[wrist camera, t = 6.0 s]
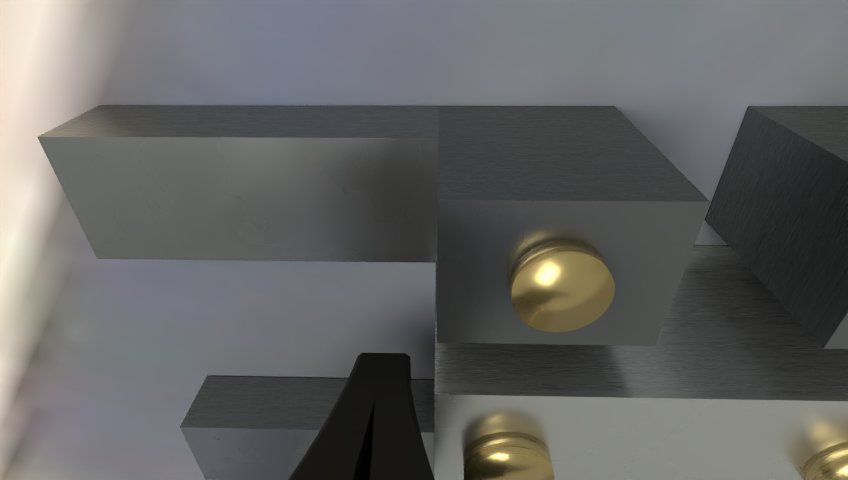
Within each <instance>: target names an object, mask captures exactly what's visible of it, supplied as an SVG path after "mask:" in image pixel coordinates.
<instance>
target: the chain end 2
mask: <svg viewBox="0 0 848 480" xmlns="http://www.w3.org/2000/svg"><path fill="white" fill-rule="evenodd" d="M705 220H706V222H707V223H708V224H709V225H710V226H711V227H712V228H713V229H714V230H715V231H716V232H717V234H718V235H719V236H720V237H721V238H722V239H723V240H724V241H725V242H726V243H727V244H728V245H729V247H730V248H731V249H732V250H733V251H734V252H735V253H736V254H737V255H738V256H739V257H740V258H741V260H742V261H743V262H744V263H745V264H746V265H747V266H748V267H749V268H750V269H751V270H752V272H753V273H754V274H755V275H756V276H757V277H758V278H759V279H760V280H761V281H762V282H763V283H764V285H765V286H766V287H767V288H768V289H769V290H770V291H771V292H772V293H773V294H774V295H775V297H776V298H777V299H778V300H779V301H780V302H781V303H782V304H783V305H784V306H785V307H786V308H787V310H788V311H789V312H790V313H791V314H792V315H793V316H794V317H795V318H796V319H797V320H798V321H799V323H800V324H801V325H802V326H803V327H804V328H805V329H806V330H807V331H808V332H809V333H810V335H811V336H812V337H813V338H814V339H815V340H816V341H817V342H818V343H819V344H820V345H821V346H822V348H823V349H848V106H749V107H748V109H747V112H746V114H745V117H744V120H743V122H742V125H741V128H740V130H739V133H738V135H737V138H736V141H735V143H734V146H733V149H732V151H731V154H730V156H729V159H728V162H727V164H726V167H725V169H724V172H723V175H722V177H721V180H720V183H719V185H718V188H717V190H716V193H715V196H714V198H713V201H712V203H711V206H710V209H709V211H708V214H707V217H706V219H705Z"/></svg>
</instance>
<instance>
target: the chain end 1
mask: <svg viewBox="0 0 848 480" xmlns="http://www.w3.org/2000/svg"><path fill="white" fill-rule="evenodd" d="M38 139H39V141H40V143H41V145H42V147H43V149H44V151H45V153H46V155H47V157H48V159H49V161H50V163H51V165H52V168H53V170H54V172H55V174H56V176H57V178H58V180H59V182H60V184H61V186H62V188H63V190H64V192H65V194H66V196H67V198H68V200H69V202H70V204H71V206H72V208H73V210H74V212H75V214H76V216H77V218H78V220H79V222H80V225H81V227H82V229H83V231H84V233H85V235H86V237H87V239H88V241H89V243H90V245H91V247H92V249H93V251H94V253H95V255H96V257H97V259H165V260H256V261H348V262H437V343H500V344H562V345H625V346H656V343H657V340H658V338H659V335H660V333H661V330H662V327H663V325H664V322H665V319H666V317H667V314H668V311H669V309H670V306H671V304H672V301H673V298H674V296H675V293H676V290H677V288H678V285H679V282H680V280H681V277H682V275H683V272H684V269H685V267H686V264H687V261H688V259H689V256H690V254H691V251H692V248H693V246H694V243H695V240H696V238H697V235H698V232H699V230H700V227H701V225H702V222H703V219H704V217H705V214H706V211H707V209H708V206H709V203H710V201H709V200H708V199H707V198H706V197H705V196H704V195H703V194H702V193H701V192H700V191H699V190H698V189H697V188H696V187H695V186H694V185H693V184H692V183H691V182H690V181H689V180H688V179H687V178H686V177H685V176H684V175H683V174H682V173H681V172H680V171H679V170H678V169H677V168H676V167H675V166H674V165H673V164H672V163H671V162H670V161H669V160H668V159H667V158H666V157H665V156H664V155H663V154H662V153H661V152H660V151H659V150H658V149H657V148H656V147H655V146H654V145H653V144H652V143H651V142H650V141H649V140H648V139H647V138H646V137H645V136H644V135H643V134H642V133H641V132H640V131H639V130H638V129H637V128H636V127H635V126H634V125H633V124H632V123H631V122H630V121H629V120H628V119H627V118H626V117H625V116H624V115H623V114H622V113H621V112H620V111H619V110H618V109H617V108H616V107H615V106H97V107H95V108H93V109H91V110H89V111H87V112H85V113H84V114H82V115H80V116H78V117H76V118H74V119H72V120H70V121H68V122H66V123H64V124H62V125H60V126H58V127H56V128H54V129H52V130H50V131H48V132H46V133H44V134H42V135H40V136H38ZM347 380H348V379H334V378H280V377H225V376H207V377H206V379H205V381H204V383H203V384H202V386H201V388H200V390H199V392H198V394H197V396H196V398H195V400H194V402H193V403H192V405H191V407H190V409H189V411H188V413H187V415H186V417H185V419H184V421H183V422H182V424H181V426H180V428H181V430H182V432H183V434H184V436H185V438H186V440H187V442H188V444H189V446H190V448H191V450H192V453H193V455H194V457H195V459H196V461H197V463H198V465H199V467H200V469H201V471H202V473H203V475H204V477H205V479H206V480H288V479H289V477H290V476H291V475H292V473H293V472H294V470H295V469H296V467H297V466H298V464H299V463H300V461H301V460H302V458H303V457H304V455H305V454H306V452H307V450H308V449H309V447H310V446H311V444H312V443H313V441H314V440H315V438H316V436H317V435H318V433H319V432H320V430H321V428H322V427H323V425H324V423H325V421H326V420H327V418H328V416H329V414H330V413H331V411H332V409H333V407H334V405H335V404H336V402H337V400H338V398H339V396H340V394H341V392H342V390H343V389H344V387H345V385H346V383H347ZM411 389H412V395H413V402H414V407H415V411H416V416H417V420H418V424H419V428H420V432H421V436H422V440H423V443H424V447H425V450H426V454H427V457H428V460H429V463H430V466H431V470H432V473H433V476H434V411H435V380H411Z"/></svg>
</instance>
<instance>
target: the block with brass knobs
mask: <svg viewBox="0 0 848 480" xmlns="http://www.w3.org/2000/svg"><path fill="white" fill-rule="evenodd" d="M434 479H435V480H848V349H823V348H822V346H821V345H820V344H819V343H818V342H817V341H816V340H815V339H814V338H813V337H812V336H811V335H810V333H809V332H808V331H807V330H806V329H805V328H804V327H803V326H802V325H801V324H800V323H799V321H798V320H797V319H796V318H795V317H794V316H793V315H792V314H791V313H790V312H789V311H788V310H787V308H786V307H785V306H784V305H783V304H782V303H781V302H780V301H779V300H778V299H777V298H776V297H775V295H774V294H773V293H772V292H771V291H770V290H769V289H768V288H767V287H766V286H765V285H764V283H763V282H762V281H761V280H760V279H759V278H758V277H757V276H756V275H755V274H754V273H753V272H752V270H751V269H750V268H749V267H748V266H747V265H746V264H745V263H744V262H743V261H742V260H741V258H740V257H739V256H738V255H737V254H736V253H735V252H734V251H733V250H732V249H731V248H730V247H729V246H693V248H692V251H691V254H690V256H689V259H688V261H687V264H686V267H685V269H684V272H683V275H682V277H681V280H680V282H679V285H678V288H677V290H676V293H675V296H674V298H673V301H672V304H671V306H670V309H669V311H668V314H667V317H666V319H665V322H664V325H663V327H662V330H661V333H660V335H659V338H658V340H657V343H656V346H625V345H562V344H500V343H437V262H436V315H435V411H434Z"/></svg>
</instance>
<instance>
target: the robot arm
mask: <svg viewBox="0 0 848 480" xmlns="http://www.w3.org/2000/svg"><path fill="white" fill-rule="evenodd" d="M288 480H435V479H434V476H433V473H432V470H431V466H430V463H429V460H428V457H427V454H426V450H425V447H424V443H423V440H422V436H421V432H420V428H419V424H418V420H417V416H416V411H415V407H414V402H413V395H412V389H411V368H410V357H409V356H408V355H407V354H404V353H361V354H360V355H359V356H358V357H357V360H356V363H355V365H354V367H353V370H352V372H351V374H350V376H349V378H348V380H347V383H346V385H345V387H344V389H343V390H342V392H341V394H340V396H339V398H338V400H337V402H336V404H335V405H334V407H333V409H332V411H331V413H330V414H329V416H328V418H327V420H326V421H325V423H324V425H323V427H322V428H321V430H320V432H319V433H318V435H317V436H316V438H315V440H314V441H313V443H312V444H311V446H310V447H309V449H308V450H307V452H306V454H305V455H304V457H303V458H302V460H301V461H300V463H299V464H298V466H297V467H296V469H295V470H294V472H293V473H292V475H291V476H290V477H289V479H288Z"/></svg>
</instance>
